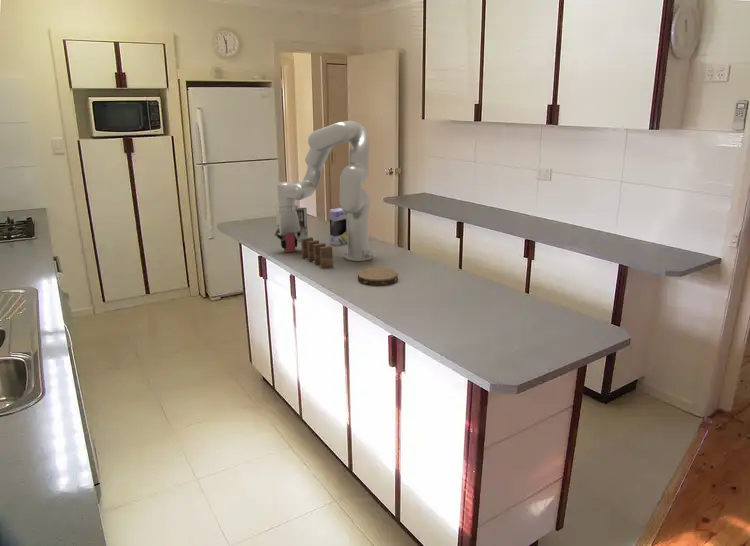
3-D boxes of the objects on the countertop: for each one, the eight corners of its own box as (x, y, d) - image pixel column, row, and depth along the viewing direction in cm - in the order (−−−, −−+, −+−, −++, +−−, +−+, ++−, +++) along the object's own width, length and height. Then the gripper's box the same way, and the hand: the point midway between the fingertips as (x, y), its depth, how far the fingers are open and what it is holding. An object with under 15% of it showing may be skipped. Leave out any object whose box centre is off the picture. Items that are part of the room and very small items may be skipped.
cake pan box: (334, 246, 265) (333, 210, 260) (327, 244, 269) (326, 209, 264) (364, 239, 278) (363, 205, 272) (357, 238, 281) (357, 204, 276)
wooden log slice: (351, 284, 212) (351, 277, 211) (366, 272, 226) (366, 265, 225) (390, 288, 207) (390, 281, 206) (402, 276, 221) (402, 269, 220)
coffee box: (308, 238, 281) (307, 207, 276) (305, 241, 275) (304, 209, 270) (291, 237, 282) (289, 207, 277) (288, 240, 276) (286, 209, 271)
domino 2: (307, 261, 241) (307, 241, 238) (317, 259, 244) (317, 240, 241) (309, 262, 239) (309, 242, 237) (319, 260, 242) (319, 241, 239)
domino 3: (314, 264, 236) (313, 244, 234) (324, 262, 239) (323, 242, 236) (316, 265, 235) (315, 245, 232) (326, 263, 237) (325, 243, 235)
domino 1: (302, 258, 246) (301, 238, 243) (311, 256, 248) (311, 237, 246) (303, 259, 244) (303, 239, 242) (313, 257, 247) (313, 238, 244)
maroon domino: (284, 251, 255) (282, 232, 253) (293, 249, 258) (292, 231, 255) (285, 252, 254) (284, 233, 251) (295, 250, 256) (294, 232, 254)
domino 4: (320, 267, 231) (319, 247, 229) (330, 266, 234) (330, 245, 231) (322, 269, 230) (321, 248, 227) (332, 267, 232) (332, 246, 230)
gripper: (300, 206, 257) (302, 243, 263) (266, 210, 248) (269, 248, 254) (307, 208, 251) (309, 246, 257) (273, 212, 242) (275, 251, 248)
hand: (289, 247), depth 255 cm, fingers closed on maroon domino, 4 cm apart
